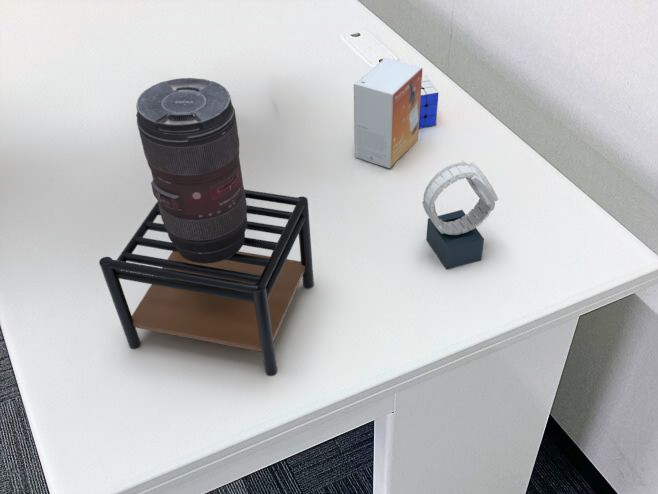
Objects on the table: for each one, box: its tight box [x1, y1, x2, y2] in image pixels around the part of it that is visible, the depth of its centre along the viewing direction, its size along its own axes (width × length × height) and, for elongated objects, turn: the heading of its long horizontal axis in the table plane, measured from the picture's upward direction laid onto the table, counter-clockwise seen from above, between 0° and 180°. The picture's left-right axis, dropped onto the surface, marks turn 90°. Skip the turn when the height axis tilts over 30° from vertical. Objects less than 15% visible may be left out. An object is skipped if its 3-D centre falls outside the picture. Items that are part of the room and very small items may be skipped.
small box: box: [353, 57, 423, 169], centre depth 95 cm, size 8×6×10 cm
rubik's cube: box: [419, 74, 439, 129], centre depth 102 cm, size 5×5×5 cm
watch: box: [421, 161, 499, 270], centre depth 81 cm, size 6×8×11 cm
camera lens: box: [135, 77, 248, 264], centre depth 66 cm, size 8×8×15 cm
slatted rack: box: [98, 189, 315, 376], centre depth 75 cm, size 16×14×12 cm
